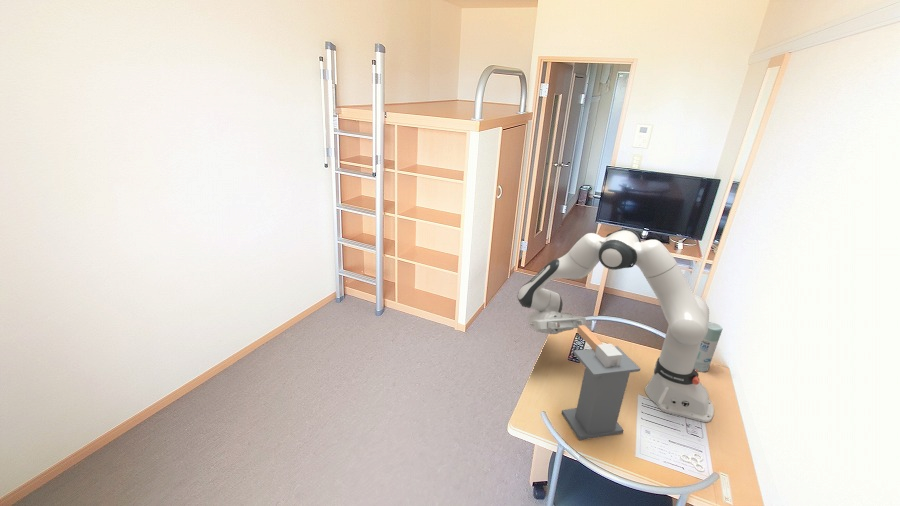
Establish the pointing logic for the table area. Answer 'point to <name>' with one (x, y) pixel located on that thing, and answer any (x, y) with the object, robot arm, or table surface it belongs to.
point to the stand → (599, 396)
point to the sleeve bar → (601, 348)
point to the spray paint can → (708, 347)
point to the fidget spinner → (694, 462)
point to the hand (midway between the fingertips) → (569, 324)
